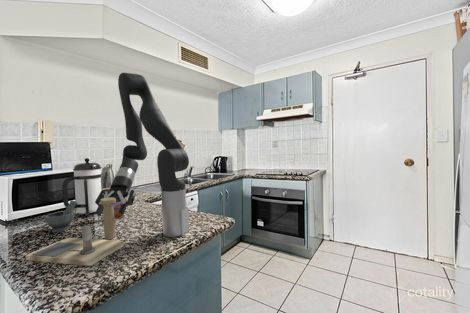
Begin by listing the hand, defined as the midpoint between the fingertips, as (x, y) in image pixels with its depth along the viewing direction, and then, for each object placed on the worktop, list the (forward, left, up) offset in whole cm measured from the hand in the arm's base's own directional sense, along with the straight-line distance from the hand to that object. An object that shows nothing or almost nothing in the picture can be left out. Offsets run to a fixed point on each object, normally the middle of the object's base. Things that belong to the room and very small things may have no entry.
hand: (109, 214), depth 86 cm
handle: (0, 0, -9) cm, 9 cm away
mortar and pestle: (+29, -6, -9) cm, 31 cm away
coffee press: (+37, -27, -9) cm, 46 cm away
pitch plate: (+2, +12, -9) cm, 15 cm away
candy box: (+17, -22, -9) cm, 29 cm away
